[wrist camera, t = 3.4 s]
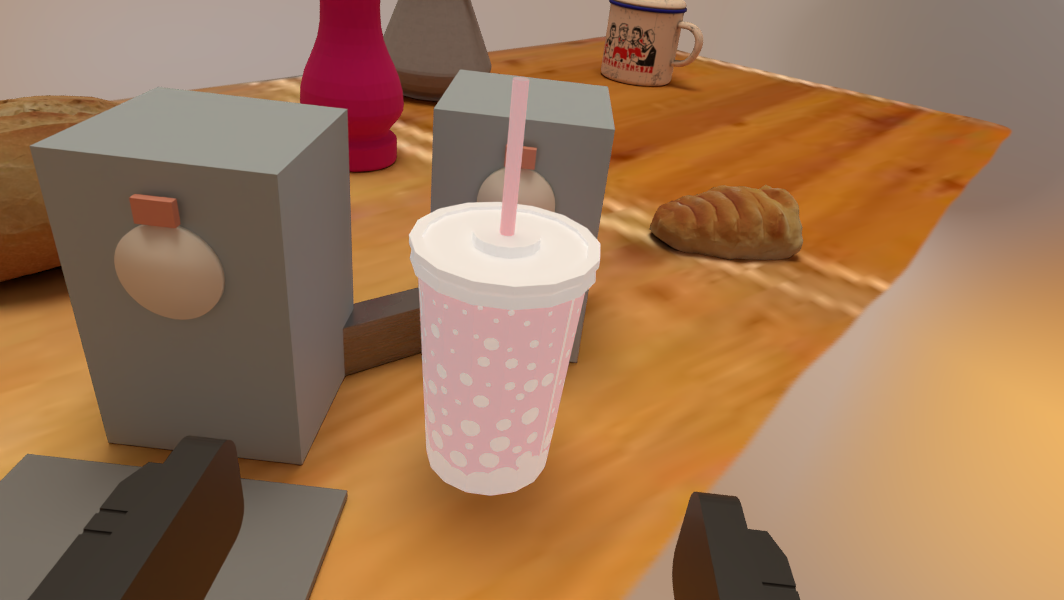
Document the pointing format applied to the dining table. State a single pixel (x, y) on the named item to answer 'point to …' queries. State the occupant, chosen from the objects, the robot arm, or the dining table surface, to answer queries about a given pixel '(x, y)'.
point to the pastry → (732, 223)
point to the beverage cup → (497, 327)
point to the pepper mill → (356, 80)
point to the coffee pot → (434, 45)
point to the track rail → (382, 331)
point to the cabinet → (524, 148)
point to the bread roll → (31, 177)
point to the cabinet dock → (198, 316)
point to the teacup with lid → (646, 41)
